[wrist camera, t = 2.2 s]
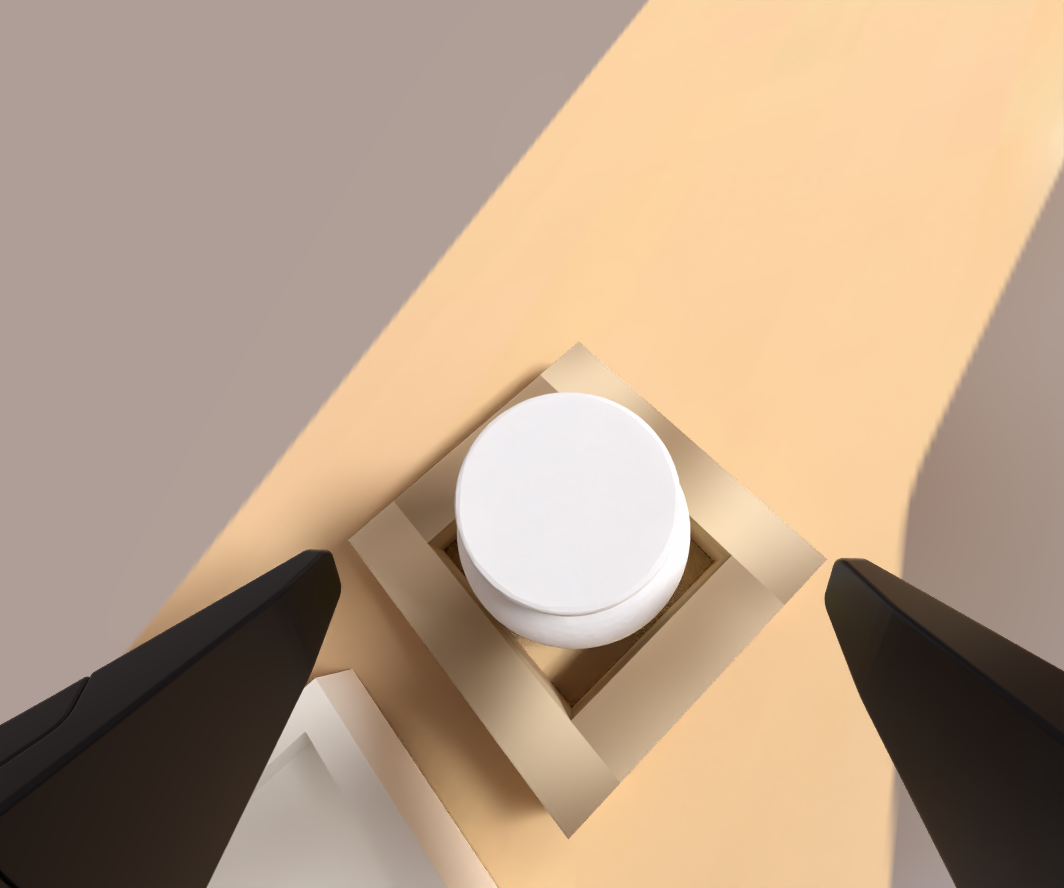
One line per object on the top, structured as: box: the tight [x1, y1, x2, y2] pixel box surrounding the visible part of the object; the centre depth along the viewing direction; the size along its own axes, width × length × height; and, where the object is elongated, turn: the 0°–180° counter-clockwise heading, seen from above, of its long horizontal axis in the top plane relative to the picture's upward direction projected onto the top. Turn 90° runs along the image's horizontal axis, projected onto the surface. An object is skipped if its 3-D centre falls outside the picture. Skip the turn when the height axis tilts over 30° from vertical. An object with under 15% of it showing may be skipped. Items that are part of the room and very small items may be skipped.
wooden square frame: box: [348, 342, 827, 839], centre depth 16 cm, size 11×11×2 cm
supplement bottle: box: [454, 392, 690, 649], centre depth 13 cm, size 5×5×10 cm
